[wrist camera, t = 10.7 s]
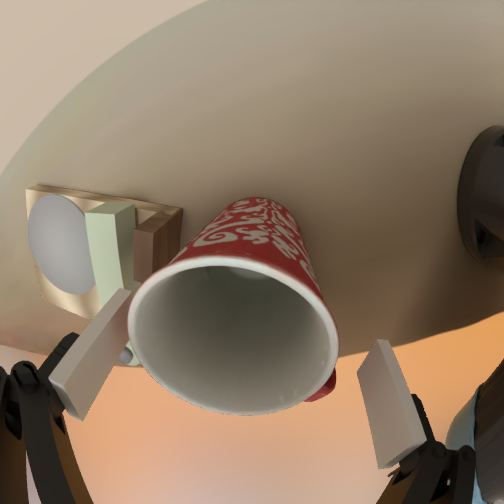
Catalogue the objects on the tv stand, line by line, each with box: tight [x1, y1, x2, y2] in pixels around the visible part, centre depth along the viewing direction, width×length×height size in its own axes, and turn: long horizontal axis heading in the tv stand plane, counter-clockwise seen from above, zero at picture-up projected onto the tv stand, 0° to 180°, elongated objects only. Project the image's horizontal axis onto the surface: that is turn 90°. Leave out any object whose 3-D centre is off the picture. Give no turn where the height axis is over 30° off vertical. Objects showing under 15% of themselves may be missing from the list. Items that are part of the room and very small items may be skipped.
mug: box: [127, 198, 339, 416], centre depth 17 cm, size 13×9×14 cm
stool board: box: [26, 185, 183, 320], centre depth 22 cm, size 18×14×6 cm
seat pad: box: [28, 194, 96, 295], centre depth 22 cm, size 11×11×1 cm
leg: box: [85, 202, 141, 366], centre depth 21 cm, size 15×4×4 cm, turn 175°
